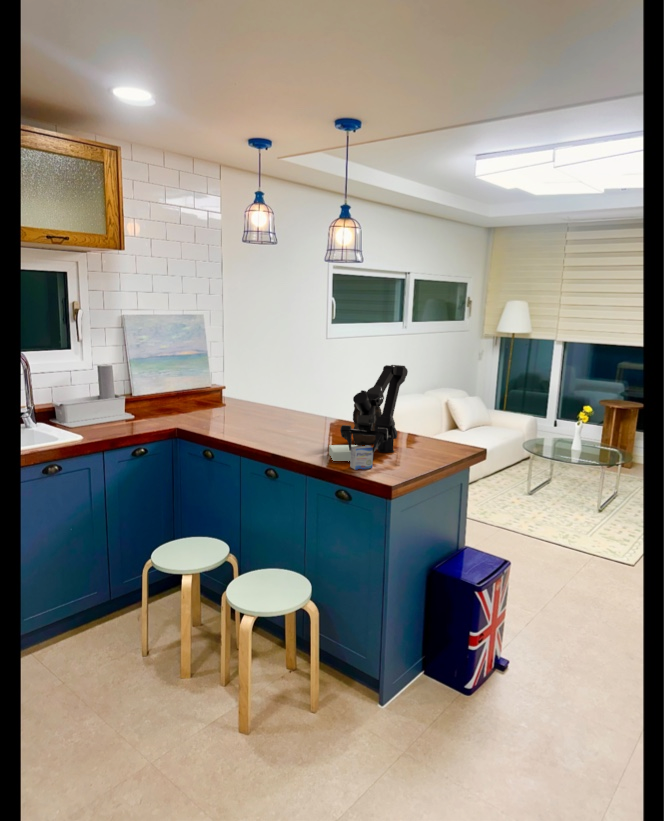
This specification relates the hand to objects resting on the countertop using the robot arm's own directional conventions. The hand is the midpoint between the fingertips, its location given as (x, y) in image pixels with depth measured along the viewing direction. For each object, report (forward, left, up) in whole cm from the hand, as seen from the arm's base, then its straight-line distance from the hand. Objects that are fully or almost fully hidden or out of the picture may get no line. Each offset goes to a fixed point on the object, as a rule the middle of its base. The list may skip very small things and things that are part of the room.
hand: (361, 451), depth 220 cm
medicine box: (0, -1, -7) cm, 8 cm away
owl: (-10, -43, -7) cm, 45 cm away
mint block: (+4, -16, -7) cm, 18 cm away
